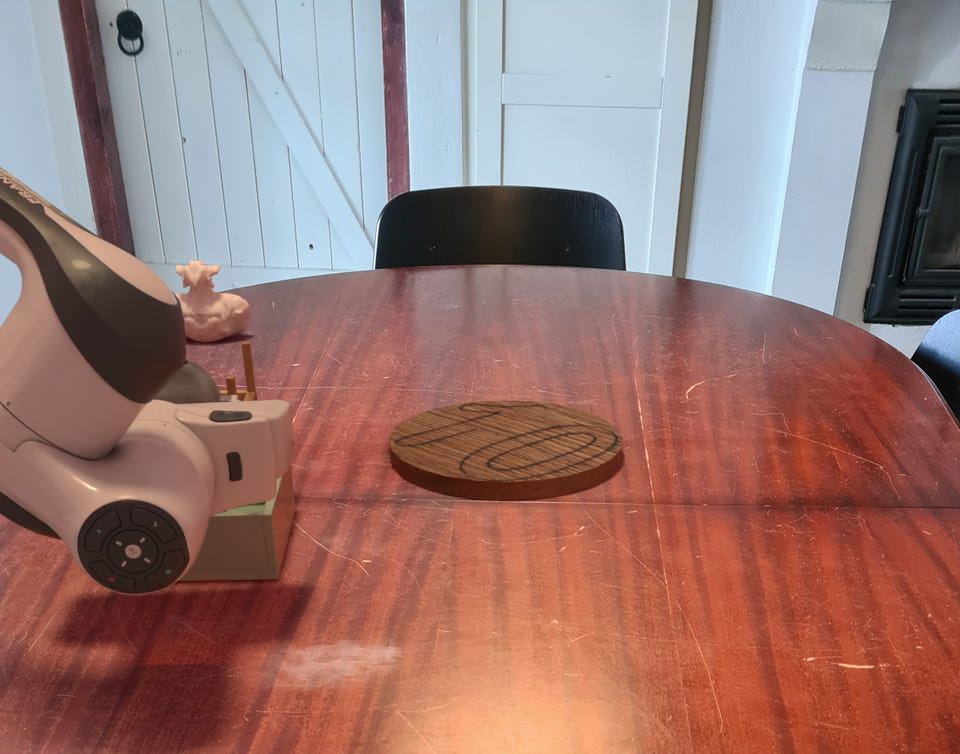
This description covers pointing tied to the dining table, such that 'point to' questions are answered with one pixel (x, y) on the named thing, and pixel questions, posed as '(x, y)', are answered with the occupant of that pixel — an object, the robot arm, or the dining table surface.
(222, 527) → the open box
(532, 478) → the trivet
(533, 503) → the dining table surface
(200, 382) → the beverage cup
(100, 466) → the robot arm
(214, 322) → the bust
